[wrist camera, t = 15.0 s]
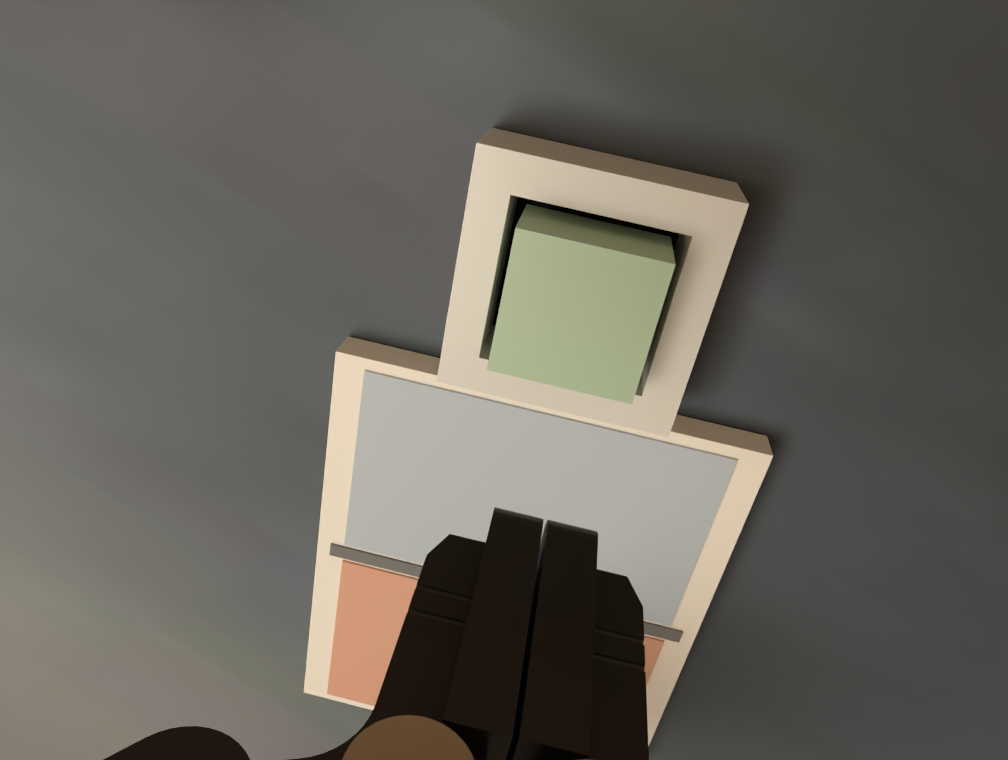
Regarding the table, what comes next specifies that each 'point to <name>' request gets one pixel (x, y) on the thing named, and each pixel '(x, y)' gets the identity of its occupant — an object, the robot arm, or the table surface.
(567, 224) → the button
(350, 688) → the picture card
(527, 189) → the button frame
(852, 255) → the table surface
